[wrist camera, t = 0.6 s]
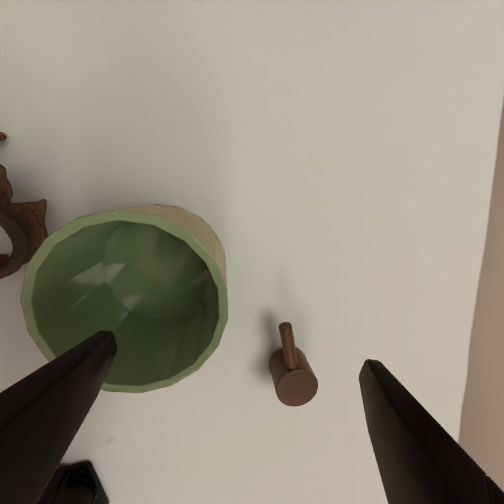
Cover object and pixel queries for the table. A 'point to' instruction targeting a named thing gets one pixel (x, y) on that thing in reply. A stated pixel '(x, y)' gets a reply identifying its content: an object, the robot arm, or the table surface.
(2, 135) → the gnarled wooden root
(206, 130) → the table surface
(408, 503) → the robot arm
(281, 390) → the scoop
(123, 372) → the green round container
